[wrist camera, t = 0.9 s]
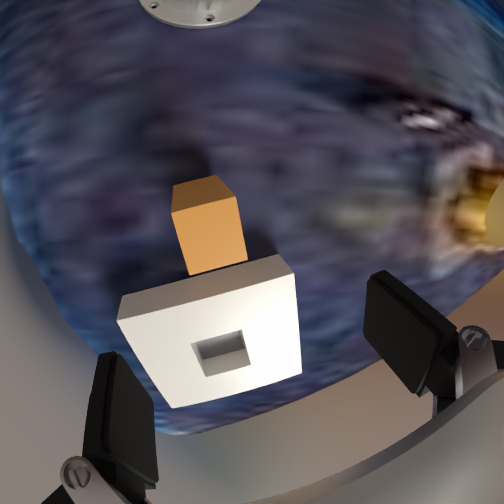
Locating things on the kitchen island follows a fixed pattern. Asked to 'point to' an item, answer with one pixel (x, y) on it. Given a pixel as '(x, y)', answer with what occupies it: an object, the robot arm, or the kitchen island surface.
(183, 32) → the kitchen island surface
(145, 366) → the socket block
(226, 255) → the plug
